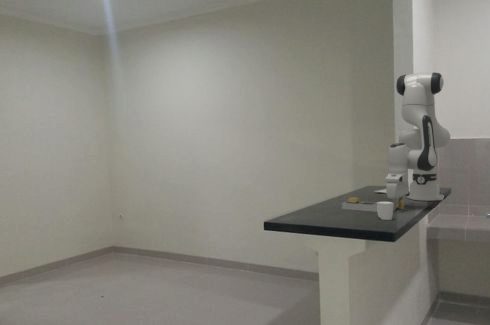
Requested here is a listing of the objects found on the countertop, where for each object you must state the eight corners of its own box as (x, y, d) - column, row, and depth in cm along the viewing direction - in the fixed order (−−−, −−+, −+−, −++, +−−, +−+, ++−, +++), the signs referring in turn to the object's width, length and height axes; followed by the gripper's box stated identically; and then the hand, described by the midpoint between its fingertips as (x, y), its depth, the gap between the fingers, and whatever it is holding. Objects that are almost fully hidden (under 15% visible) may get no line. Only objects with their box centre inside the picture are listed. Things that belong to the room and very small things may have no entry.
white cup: (393, 220, 169) (393, 203, 169) (376, 219, 171) (376, 203, 171) (393, 217, 175) (393, 201, 175) (377, 216, 178) (376, 201, 177)
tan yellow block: (395, 208, 197) (395, 198, 197) (404, 209, 195) (404, 198, 194) (392, 209, 194) (392, 199, 194) (401, 210, 192) (401, 199, 191)
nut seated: (351, 207, 200) (351, 197, 200) (359, 207, 198) (359, 197, 197) (348, 208, 197) (348, 198, 197) (356, 209, 194) (355, 198, 194)
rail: (349, 207, 203) (349, 200, 203) (395, 211, 189) (395, 203, 188) (341, 210, 197) (341, 202, 197) (388, 214, 182) (388, 206, 182)
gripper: (399, 175, 204) (399, 202, 204) (383, 178, 188) (384, 208, 189) (411, 175, 200) (412, 203, 200) (397, 179, 184) (397, 209, 185)
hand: (398, 205), depth 194 cm, fingers closed on tan yellow block, 4 cm apart
